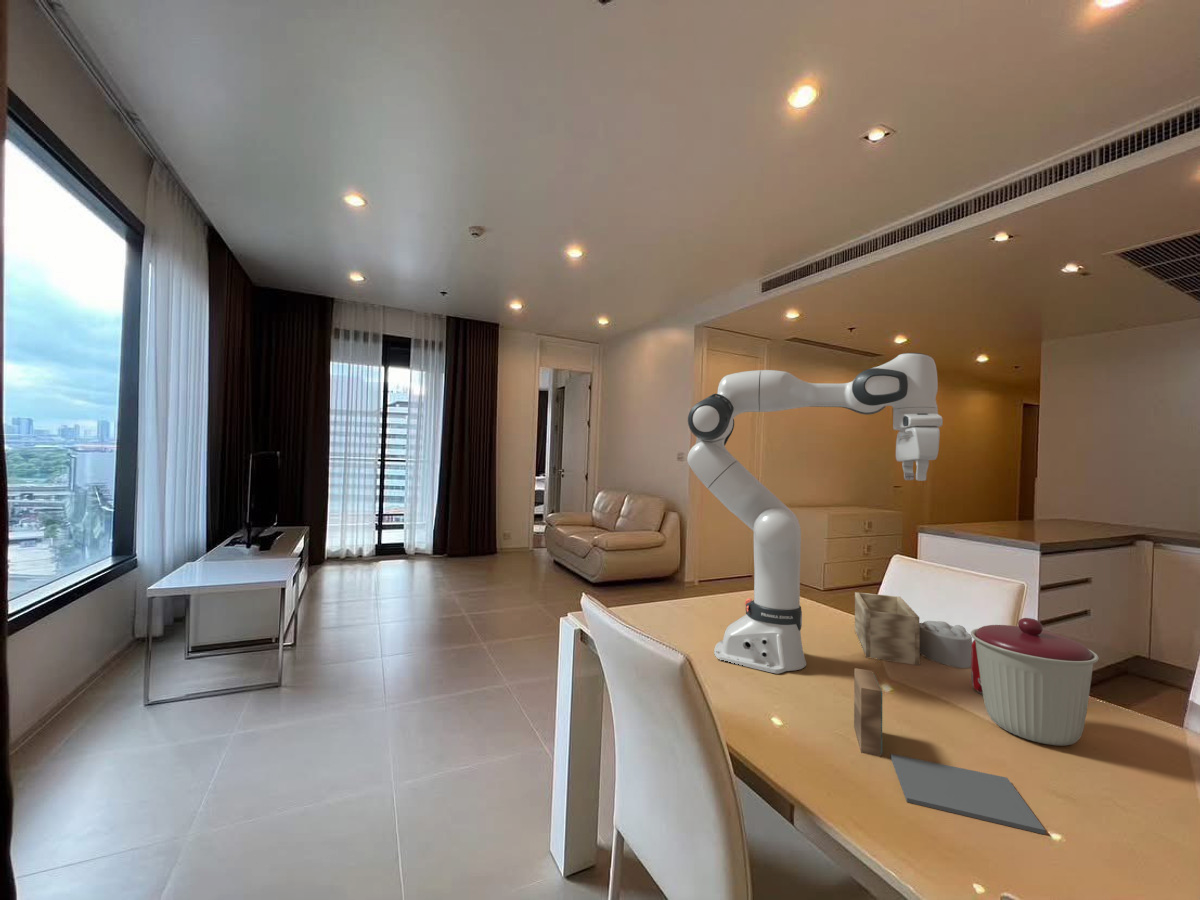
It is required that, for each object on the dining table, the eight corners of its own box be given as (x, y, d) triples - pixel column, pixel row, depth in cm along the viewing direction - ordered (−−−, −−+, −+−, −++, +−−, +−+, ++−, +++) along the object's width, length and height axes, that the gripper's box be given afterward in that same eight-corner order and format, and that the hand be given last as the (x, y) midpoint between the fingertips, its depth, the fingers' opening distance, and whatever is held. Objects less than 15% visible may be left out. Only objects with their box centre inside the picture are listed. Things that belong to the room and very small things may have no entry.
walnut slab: (861, 752, 83) (861, 687, 83) (854, 727, 91) (854, 668, 91) (882, 757, 81) (882, 691, 82) (873, 730, 90) (873, 671, 90)
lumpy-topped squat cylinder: (949, 649, 133) (949, 618, 134) (984, 669, 120) (984, 634, 121) (911, 648, 134) (911, 616, 134) (942, 667, 121) (941, 632, 121)
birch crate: (866, 657, 126) (866, 611, 126) (854, 631, 146) (855, 592, 147) (919, 665, 122) (919, 617, 122) (900, 637, 142) (900, 596, 143)
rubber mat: (906, 802, 70) (906, 797, 70) (890, 757, 81) (890, 753, 81) (1045, 834, 64) (1045, 830, 64) (1007, 781, 76) (1007, 777, 76)
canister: (1068, 769, 79) (1066, 640, 80) (951, 716, 96) (950, 610, 97) (1120, 746, 86) (1118, 628, 87) (1003, 701, 103) (1002, 602, 104)
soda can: (1020, 703, 102) (1019, 646, 103) (982, 699, 104) (982, 643, 104) (1000, 688, 109) (999, 635, 110) (964, 685, 111) (964, 632, 111)
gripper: (888, 426, 124) (888, 479, 124) (911, 417, 105) (911, 480, 104) (917, 426, 122) (917, 480, 122) (945, 417, 103) (945, 481, 102)
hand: (914, 480), depth 113 cm, fingers open, 8 cm apart
